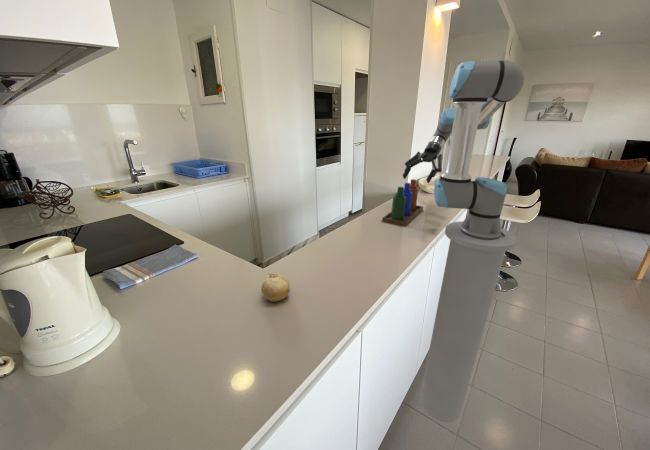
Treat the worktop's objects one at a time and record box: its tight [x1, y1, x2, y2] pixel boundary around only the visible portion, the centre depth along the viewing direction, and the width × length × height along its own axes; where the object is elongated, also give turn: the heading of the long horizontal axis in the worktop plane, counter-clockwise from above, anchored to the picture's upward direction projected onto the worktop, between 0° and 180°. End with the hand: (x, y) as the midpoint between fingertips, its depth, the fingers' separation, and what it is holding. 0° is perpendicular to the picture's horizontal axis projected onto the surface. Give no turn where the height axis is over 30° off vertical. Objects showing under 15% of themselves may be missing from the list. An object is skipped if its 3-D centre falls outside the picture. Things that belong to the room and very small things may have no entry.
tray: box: [381, 204, 424, 227], centre depth 144 cm, size 12×30×2 cm, turn 146°
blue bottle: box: [403, 182, 413, 216], centre depth 141 cm, size 6×6×16 cm
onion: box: [260, 272, 291, 303], centre depth 77 cm, size 8×8×7 cm
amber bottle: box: [410, 178, 419, 211], centre depth 149 cm, size 6×6×16 cm
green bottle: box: [391, 186, 406, 221], centre depth 133 cm, size 6×6×16 cm
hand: (415, 179), depth 142 cm, fingers open, 13 cm apart
